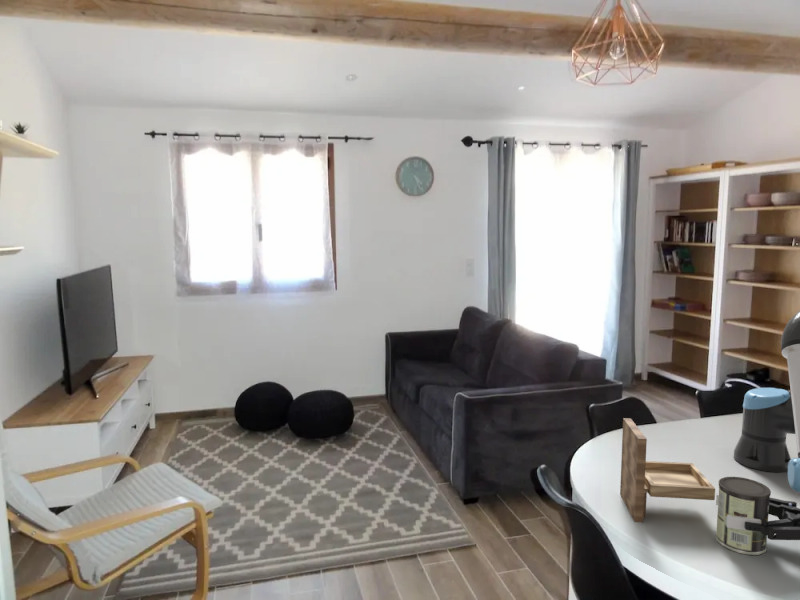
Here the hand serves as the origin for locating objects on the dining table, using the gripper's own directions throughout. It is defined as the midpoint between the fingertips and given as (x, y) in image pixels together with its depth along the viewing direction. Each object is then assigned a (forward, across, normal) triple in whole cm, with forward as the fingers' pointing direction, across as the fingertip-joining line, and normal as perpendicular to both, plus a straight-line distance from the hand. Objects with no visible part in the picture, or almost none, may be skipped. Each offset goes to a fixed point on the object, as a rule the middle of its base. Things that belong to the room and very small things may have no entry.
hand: (721, 509), depth 130 cm
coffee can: (-4, 0, -8) cm, 9 cm away
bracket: (+11, +12, -8) cm, 17 cm away
